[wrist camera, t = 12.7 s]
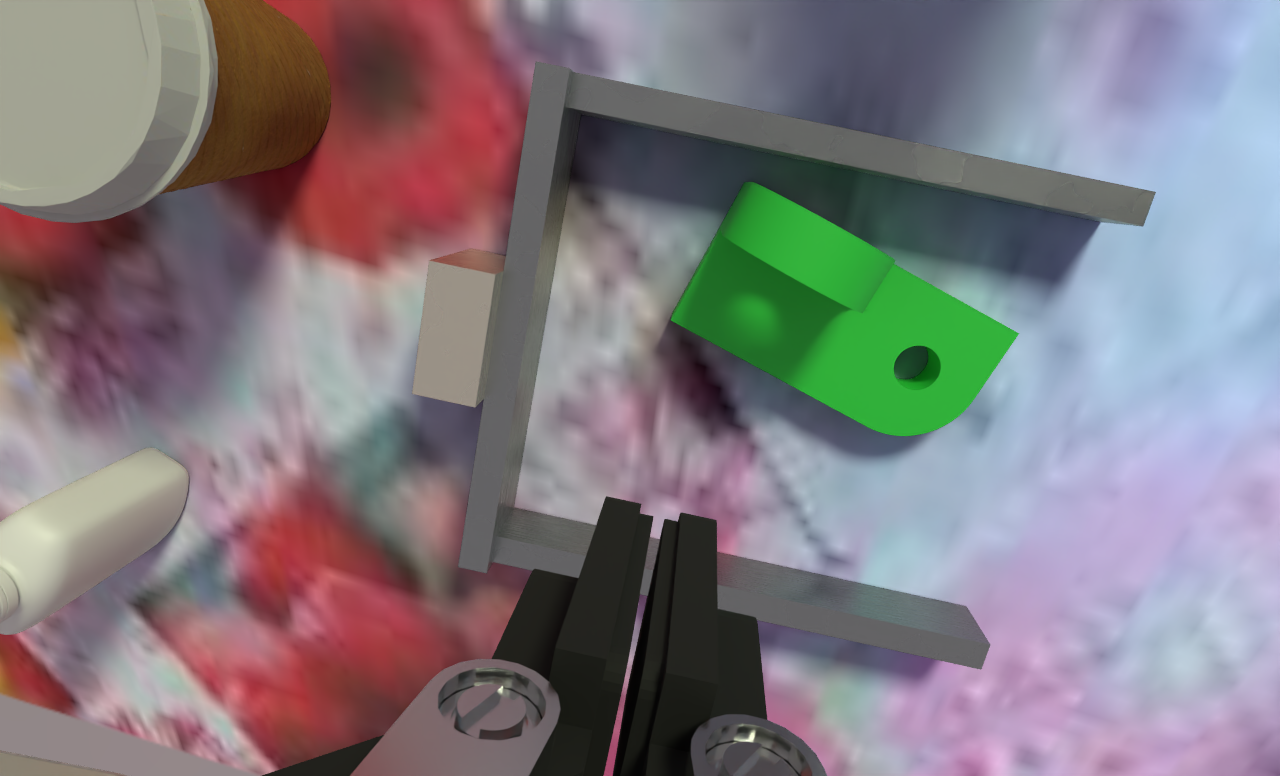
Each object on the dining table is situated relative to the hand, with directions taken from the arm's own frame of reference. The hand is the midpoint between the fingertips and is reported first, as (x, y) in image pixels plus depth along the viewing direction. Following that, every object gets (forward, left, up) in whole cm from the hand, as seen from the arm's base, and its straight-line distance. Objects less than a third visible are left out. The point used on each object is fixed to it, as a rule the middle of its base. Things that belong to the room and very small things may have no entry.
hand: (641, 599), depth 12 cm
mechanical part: (-6, -2, -23) cm, 24 cm away
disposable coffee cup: (+19, -6, -22) cm, 30 cm away
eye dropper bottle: (+23, +13, -22) cm, 35 cm away
